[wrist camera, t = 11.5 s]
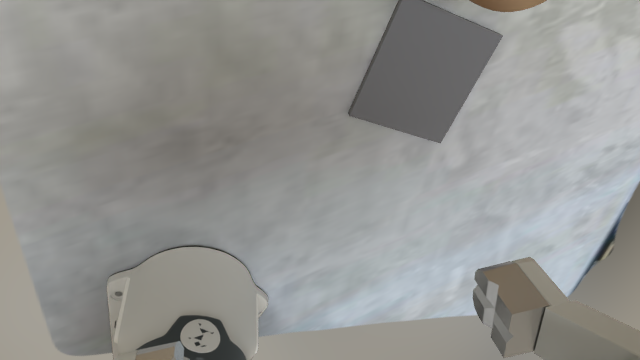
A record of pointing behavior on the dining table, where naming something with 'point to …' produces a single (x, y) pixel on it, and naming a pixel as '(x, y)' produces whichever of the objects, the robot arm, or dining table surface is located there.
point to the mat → (423, 70)
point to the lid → (507, 4)
